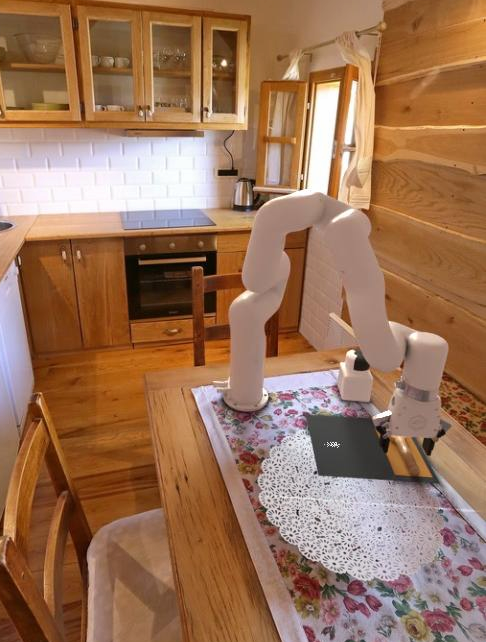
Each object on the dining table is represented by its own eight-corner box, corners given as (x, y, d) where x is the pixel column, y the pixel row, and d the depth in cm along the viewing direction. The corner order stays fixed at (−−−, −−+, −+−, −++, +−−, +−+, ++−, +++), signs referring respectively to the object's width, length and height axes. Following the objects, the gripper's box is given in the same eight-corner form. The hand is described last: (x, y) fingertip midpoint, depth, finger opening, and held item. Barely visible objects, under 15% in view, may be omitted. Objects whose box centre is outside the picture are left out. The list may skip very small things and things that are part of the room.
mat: (318, 476, 89) (318, 474, 89) (305, 415, 108) (305, 414, 108) (440, 484, 87) (440, 483, 87) (405, 421, 106) (405, 420, 106)
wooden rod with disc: (426, 479, 88) (428, 471, 88) (404, 477, 89) (406, 469, 88) (401, 431, 102) (403, 423, 102) (383, 429, 103) (384, 422, 102)
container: (363, 386, 120) (369, 347, 116) (369, 402, 113) (377, 362, 109) (336, 384, 121) (342, 345, 117) (341, 400, 114) (347, 360, 110)
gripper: (383, 396, 85) (371, 459, 91) (468, 401, 84) (450, 465, 90) (373, 375, 92) (362, 436, 98) (451, 380, 92) (435, 440, 97)
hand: (404, 450), depth 94 cm, fingers open, 9 cm apart
